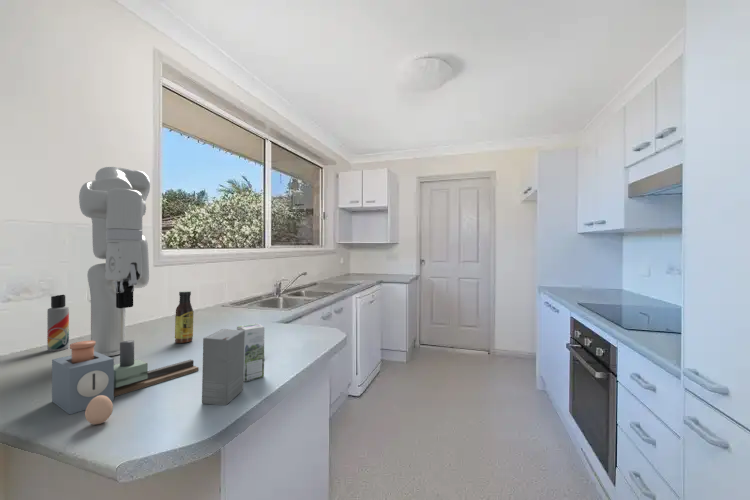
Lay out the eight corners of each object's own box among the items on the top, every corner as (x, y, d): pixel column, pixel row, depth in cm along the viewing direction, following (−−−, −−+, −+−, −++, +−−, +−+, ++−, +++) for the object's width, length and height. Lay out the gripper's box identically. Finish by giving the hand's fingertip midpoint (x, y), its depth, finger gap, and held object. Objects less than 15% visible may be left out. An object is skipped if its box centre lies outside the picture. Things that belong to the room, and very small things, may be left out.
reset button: (66, 364, 78) (66, 343, 78) (91, 358, 82) (91, 339, 82) (73, 367, 76) (73, 346, 76) (98, 362, 80) (98, 342, 80)
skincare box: (220, 390, 85) (220, 328, 85) (246, 391, 84) (246, 328, 85) (199, 405, 77) (199, 336, 77) (228, 406, 76) (228, 337, 76)
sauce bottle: (184, 344, 128) (184, 292, 128) (170, 343, 129) (170, 292, 129) (197, 339, 134) (197, 290, 134) (183, 339, 135) (183, 290, 135)
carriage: (106, 382, 85) (106, 343, 85) (137, 374, 91) (137, 337, 91) (116, 387, 82) (116, 346, 82) (147, 378, 88) (147, 340, 88)
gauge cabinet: (52, 401, 79) (52, 359, 79) (94, 389, 86) (94, 350, 86) (70, 415, 72) (71, 369, 72) (115, 401, 79) (115, 359, 79)
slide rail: (102, 390, 85) (102, 380, 85) (185, 366, 103) (185, 357, 103) (114, 396, 81) (114, 386, 81) (198, 370, 99) (198, 361, 99)
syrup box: (255, 371, 98) (255, 322, 98) (264, 377, 94) (264, 325, 94) (236, 376, 94) (235, 325, 94) (244, 382, 90) (244, 329, 90)
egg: (106, 427, 67) (106, 399, 67) (80, 430, 66) (80, 401, 66) (116, 416, 72) (116, 390, 72) (92, 419, 70) (92, 392, 70)
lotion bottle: (58, 351, 119) (58, 295, 119) (42, 351, 119) (42, 295, 119) (73, 347, 124) (73, 293, 124) (58, 347, 124) (58, 293, 125)
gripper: (95, 237, 87) (95, 307, 87) (120, 235, 79) (120, 312, 79) (128, 238, 94) (128, 303, 93) (154, 236, 86) (154, 307, 86)
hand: (124, 307), depth 86 cm, fingers closed
